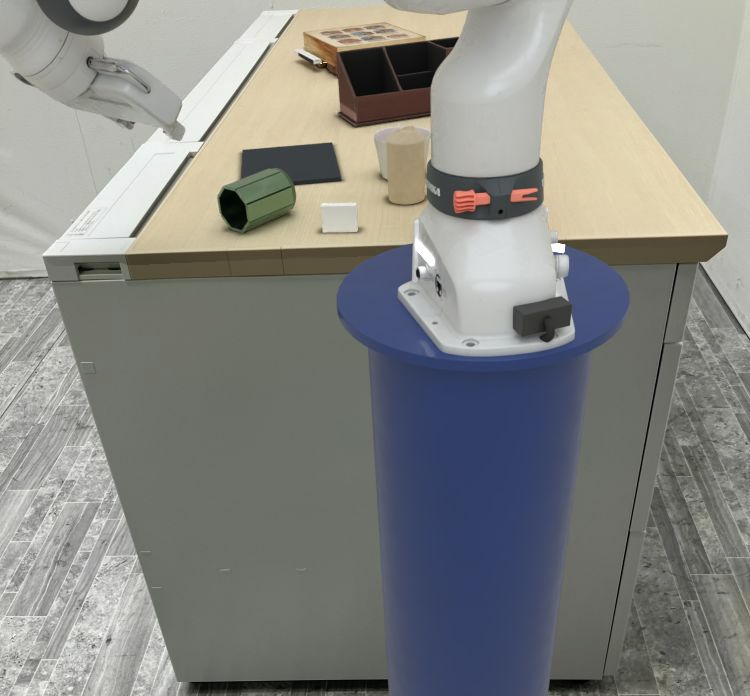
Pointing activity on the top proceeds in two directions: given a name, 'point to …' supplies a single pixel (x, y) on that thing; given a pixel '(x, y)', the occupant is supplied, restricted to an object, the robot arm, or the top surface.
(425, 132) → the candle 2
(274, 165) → the mat
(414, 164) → the candle
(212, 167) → the top surface
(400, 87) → the desk organizer
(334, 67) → the wooden box
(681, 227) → the top surface
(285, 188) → the bucket
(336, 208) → the eraser
